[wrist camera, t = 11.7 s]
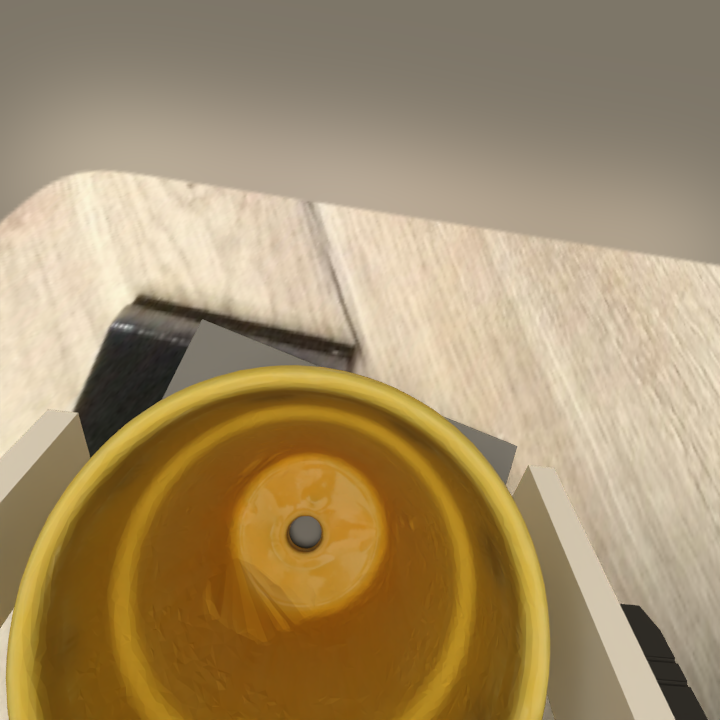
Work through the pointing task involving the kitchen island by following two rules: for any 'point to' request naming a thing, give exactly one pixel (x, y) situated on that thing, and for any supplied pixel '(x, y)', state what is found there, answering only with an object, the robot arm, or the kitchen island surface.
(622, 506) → the kitchen island surface
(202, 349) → the trivet mat
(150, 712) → the plant pot
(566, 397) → the kitchen island surface
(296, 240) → the kitchen island surface
